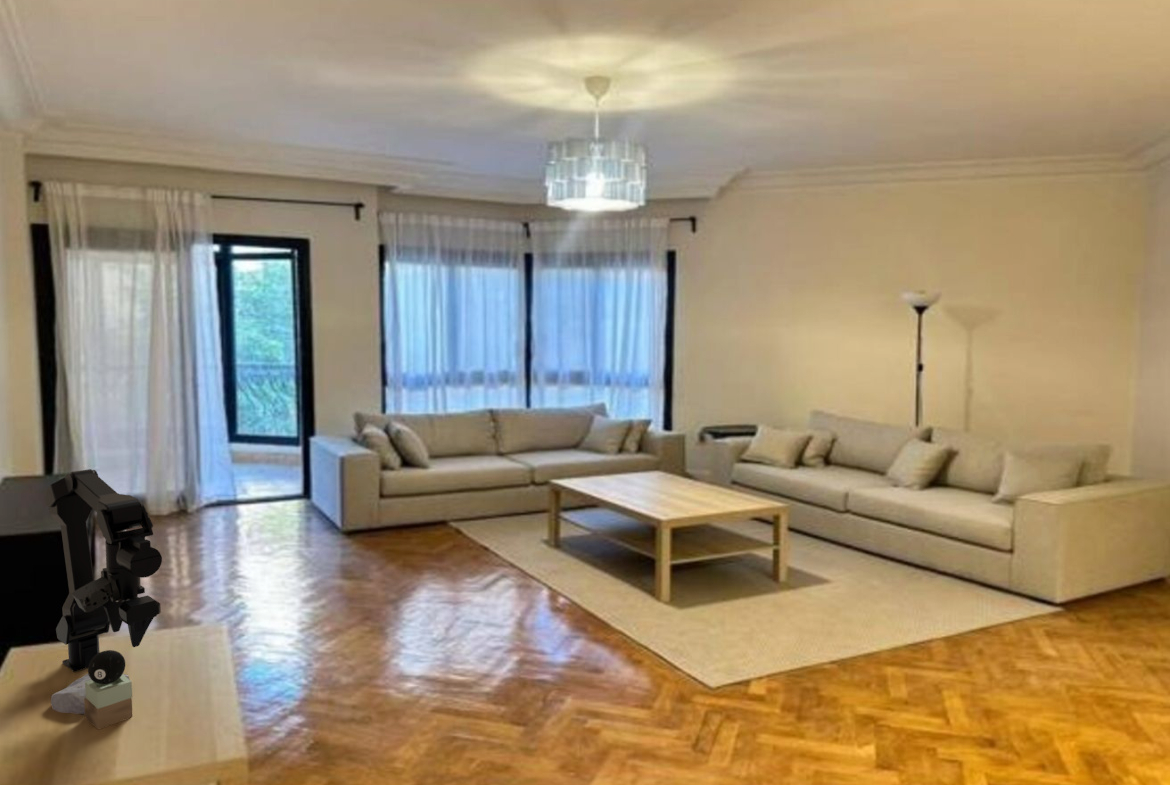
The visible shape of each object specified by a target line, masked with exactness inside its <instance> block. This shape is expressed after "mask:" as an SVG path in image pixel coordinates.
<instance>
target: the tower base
mask: <svg viewBox="0 0 1170 785" xmlns="http://www.w3.org/2000/svg"><path fill="white" fill-rule="evenodd" d="M132 699H133V697H132V698H129V699H126V700H123V701H120V702H117V703H114V704H111V705H108V706H105V707H102V708H99V709H97V708H96V707H95V706H94V705H93V704H92V703H91V702H90V701H89V700H88V699H86V698H84V706H85V714H84V719H86V720H87V721H88V722H89V723H90V724H91V725H93V726H94V727H95V728H96V729H97V730H100V729H104V728H106V727H108V726H111V725H114V724H117V723H119V722H122V721H125V720H128V719H130V718H133V703H132V702H133V700H132Z"/></svg>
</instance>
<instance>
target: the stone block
mask: <svg viewBox="0 0 1170 785" xmlns="http://www.w3.org/2000/svg"><path fill="white" fill-rule="evenodd" d="M123 675H124V676H126V677H127V678H128V679H129V680H130V681H131V679H130V677H129V675H128V674H124V673H123ZM89 680H91V678H90V677H89V674H88V673H87V674H85V675H83V676H82V677H79V678H77V679H76V680H74V681H73V682H72V683H70V684H68V686H67V687H65V688H63V689H61V690H59V691H57V692H55V693H53V694H52V695H51V697H50V704H51V707H52V708H51V709H52V710H53V711H56V712H58V713H68V714H71V713H72V714H75V715H80V714H81V715H85V706H84V698H86V694H85V682H86V681H89Z"/></svg>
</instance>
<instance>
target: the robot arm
mask: <svg viewBox="0 0 1170 785" xmlns="http://www.w3.org/2000/svg"><path fill="white" fill-rule="evenodd" d="M44 501H45V506H46V507H47V508H48V511H49V515H50V516H51V517H52V518H53V519H54V520H55V521H56V523H58V525H60V531H61V537H62V538H61V539H62V545H63V553H64V562H65V568H66V569H65V570H66V577H67V585H68V595H67V597H66V599H65V602H64V603H63V606H62V608H61V609H62V616H61V618H60V620H59V622H58V623H57V626H56V628H55V631H56V632H55V633H56V637H57V639H58V641H60V642H62V643H63V644H64V645H67V652H68V658H67V659H63V660H62V664H63V665H64V666H65V667H66V668H68V669H69V670H71V671H72V672H73V673H74V672H75V673H76V672H79V671H82V670H85V669H88V667H89V663H90V661H91V660H92V658H93V657H94V656H95V655H96V654H98V653H100V652H101V650H100V635H103V634H107V633H108V634H109V630H110V627H111V630H112V633H117V632H119V631H120V630H121V627H122V625H123V623H125V624H126V625H127V628H128V633H129V638H130V642H131V643H130V644H131V646H132V647H133V648H137V647H139V646H140V644H141V642H142V641H143V638H144V636H145V634H146V633H147V630H148V628H149V627H150V625H151V623H152V622H153V620H154V618H155V617H157V616H158V615H160V614H161V610H162V608H161V607H162V606H161V602H159V601H157V600H156V599H154V598H153V597H151V596H150V595H143V596H138V595H141V594H145V592H146V590H145V587H144V586H142V584H141V578H148V577H150V576H153V575H155V573H156V572H158V570H159V569H160V567H161V566H162V563H163V556H162V554H161V551H159V550H158V549H157V548H155V547H153V546H152V545H151V544H152V543H151V541H150V540H149V539H148V537H150V536H151V537H152V536H153V535H154V531H153V527H154V525H153V523H152V520H151V518H150V516H149V513H148V511H147V508H145V505H144V504H143V503H142V502H141V501H140V500H139V499H138V498H136V497H135V496H133V495H130V494H120V493H118V492H117V491H116V490H114V488H112V487H111V486H110V485H109V484H107V482H106V481H104V480H103V479H102V478H101V477H99V474H98V472H97V470H96V469H92V468H91V469H90V468H89V469H82V470H75V471H71V472H70V473H67V474H66V475H65V476H64V477H63V478H61V479H59V480H57V481H55V482H53V483H51V484H50V485H49V487H48V488H47V489H46V490H45V492H44ZM93 510H94V511H95V512H96V523H97V525H98V528H99V529H100V531H101V533H102V537H103V538H104V539H105V566H106V567H104V568H102V570H101V571H100V577H99V578H96V579H94V569H93V562H92V561H93V560H92V554H91V548H90V547H91V546H90V541H89V540H90V539H89V532H88V524H87V521H88V520H89V519H90V515H91V513H92V511H93ZM135 528H136V529H135ZM130 529H131V530H130ZM146 537H147V539H146Z"/></svg>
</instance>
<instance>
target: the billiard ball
mask: <svg viewBox="0 0 1170 785" xmlns="http://www.w3.org/2000/svg"><path fill="white" fill-rule="evenodd" d="M125 670H126V660H125V657H124V655H123V654H122V653H120V652H119V651H116V650H111V649H110V650H109V649H108V650H107V649H106V650H103V651H100V653H98V654H96V655H95V656H94V657H93V658H92V660H91V661H90V663H89V667H88V668H87V672H88V673H87V674H89V677H90V678H91V680H92V681H94V682H95V683H98V684H109V683H112V682H114V681H116V680H118V679H119V678H120V677H121V676H122V674H124V673H125Z"/></svg>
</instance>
